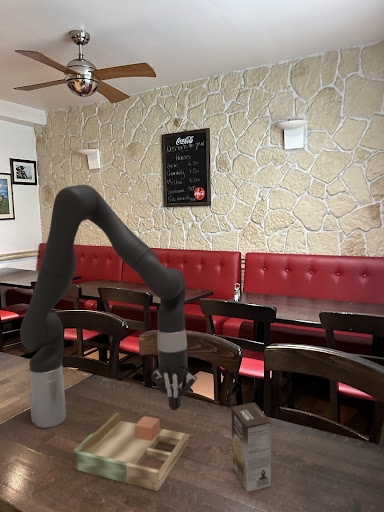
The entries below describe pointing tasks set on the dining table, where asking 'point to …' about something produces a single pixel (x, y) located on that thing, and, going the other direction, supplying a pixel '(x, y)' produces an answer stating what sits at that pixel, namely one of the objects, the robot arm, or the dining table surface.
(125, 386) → the dining table surface
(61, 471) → the dining table surface
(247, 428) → the coffee box
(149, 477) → the box
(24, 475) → the dining table surface
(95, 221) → the robot arm
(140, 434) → the block
